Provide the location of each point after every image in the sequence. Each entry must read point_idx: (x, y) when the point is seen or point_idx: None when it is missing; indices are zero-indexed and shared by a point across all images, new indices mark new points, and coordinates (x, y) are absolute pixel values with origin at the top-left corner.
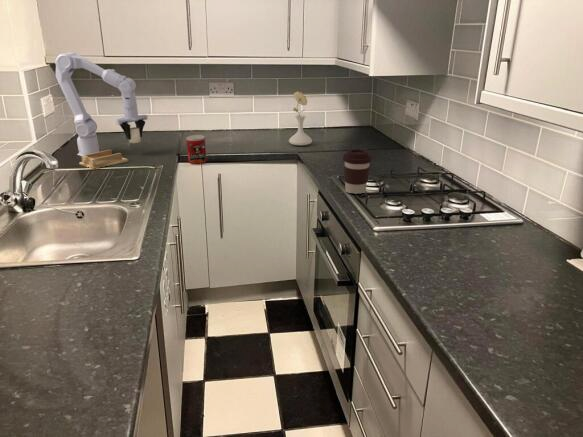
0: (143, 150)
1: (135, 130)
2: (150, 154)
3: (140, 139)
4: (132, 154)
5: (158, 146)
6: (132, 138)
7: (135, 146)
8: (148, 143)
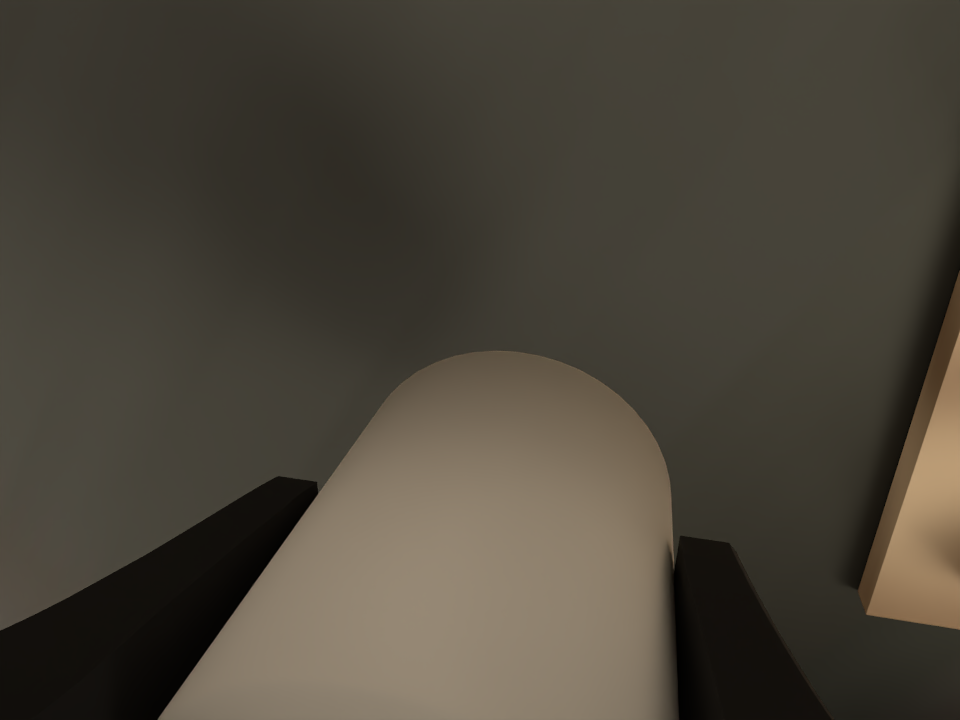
0: (325, 458)
1: (447, 661)
2: (367, 151)
3: (371, 420)
4: None
5: (56, 441)
6: (640, 509)
7: None
8: None
